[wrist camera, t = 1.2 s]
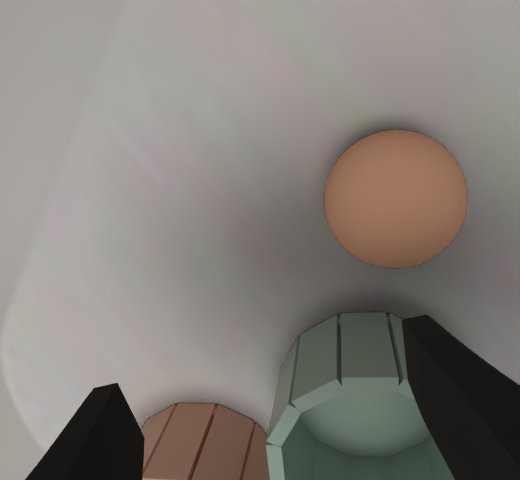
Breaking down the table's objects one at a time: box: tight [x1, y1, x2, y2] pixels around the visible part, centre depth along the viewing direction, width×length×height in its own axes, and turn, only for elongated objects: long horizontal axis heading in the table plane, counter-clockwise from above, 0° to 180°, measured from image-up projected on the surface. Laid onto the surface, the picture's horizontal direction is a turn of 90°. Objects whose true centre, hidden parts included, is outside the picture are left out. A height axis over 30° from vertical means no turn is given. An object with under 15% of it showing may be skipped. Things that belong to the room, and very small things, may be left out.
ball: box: [324, 130, 468, 269], centre depth 17 cm, size 5×5×5 cm
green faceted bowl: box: [266, 312, 455, 480], centre depth 21 cm, size 8×8×5 cm
